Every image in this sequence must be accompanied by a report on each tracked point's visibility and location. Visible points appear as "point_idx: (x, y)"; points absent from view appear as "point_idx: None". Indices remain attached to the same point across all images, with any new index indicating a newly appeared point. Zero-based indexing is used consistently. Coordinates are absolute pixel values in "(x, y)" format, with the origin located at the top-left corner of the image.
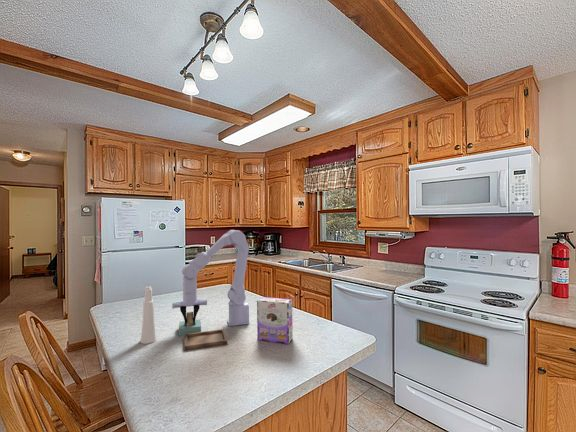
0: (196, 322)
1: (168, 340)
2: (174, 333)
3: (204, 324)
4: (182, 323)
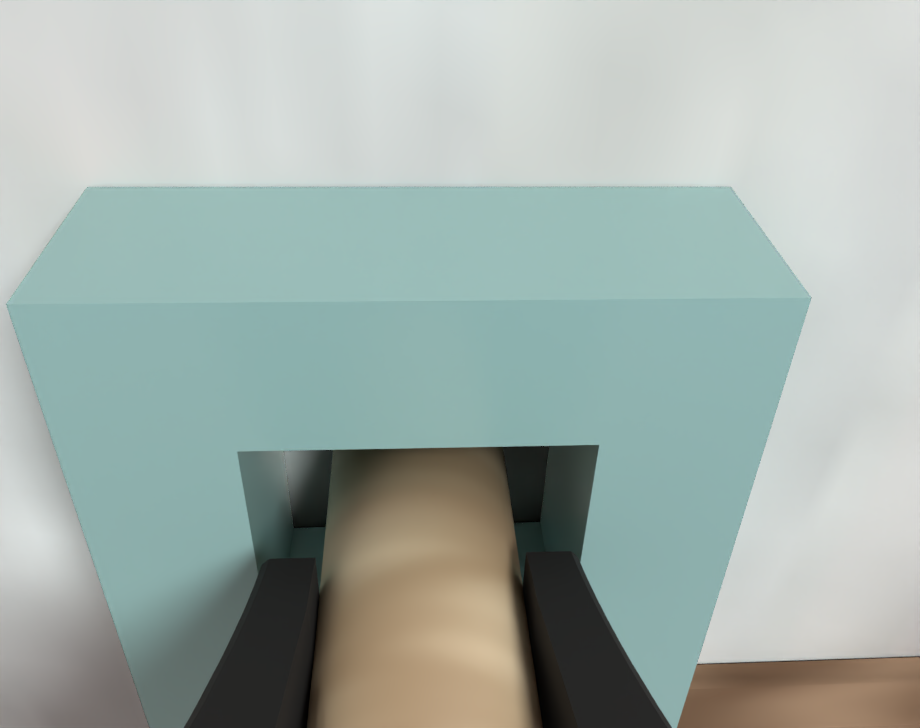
0: (621, 519)
1: (33, 694)
2: (47, 465)
3: (888, 104)
4: (175, 480)
